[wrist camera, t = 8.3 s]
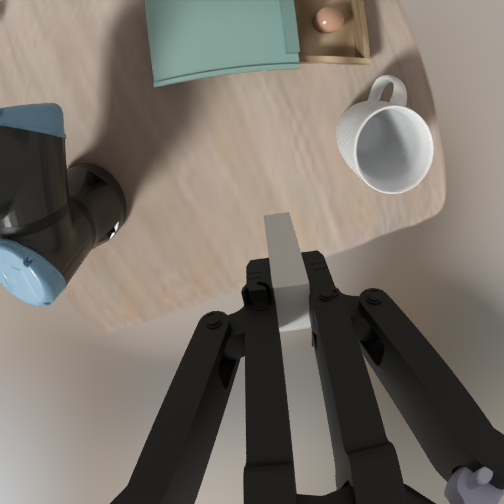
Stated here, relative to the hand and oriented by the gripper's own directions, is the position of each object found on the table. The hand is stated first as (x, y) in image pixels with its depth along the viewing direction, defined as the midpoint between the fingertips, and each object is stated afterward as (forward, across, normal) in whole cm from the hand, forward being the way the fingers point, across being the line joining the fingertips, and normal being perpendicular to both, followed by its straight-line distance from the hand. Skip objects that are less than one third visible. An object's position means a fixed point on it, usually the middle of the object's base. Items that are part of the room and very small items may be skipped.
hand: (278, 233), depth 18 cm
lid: (+25, -2, +18) cm, 31 cm away
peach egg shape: (+27, +12, +17) cm, 34 cm away
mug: (+28, +16, +1) cm, 32 cm away
